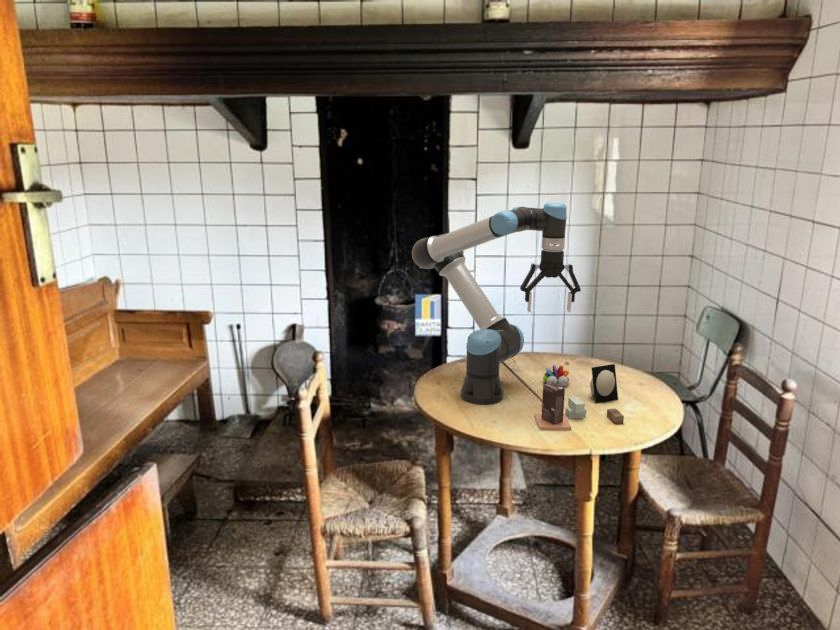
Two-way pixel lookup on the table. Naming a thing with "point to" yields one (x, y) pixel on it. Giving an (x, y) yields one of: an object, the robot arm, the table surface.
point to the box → (553, 403)
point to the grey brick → (574, 414)
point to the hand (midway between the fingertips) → (548, 311)
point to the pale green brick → (576, 404)
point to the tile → (549, 426)
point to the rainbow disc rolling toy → (557, 376)
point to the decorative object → (604, 383)
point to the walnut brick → (615, 416)
